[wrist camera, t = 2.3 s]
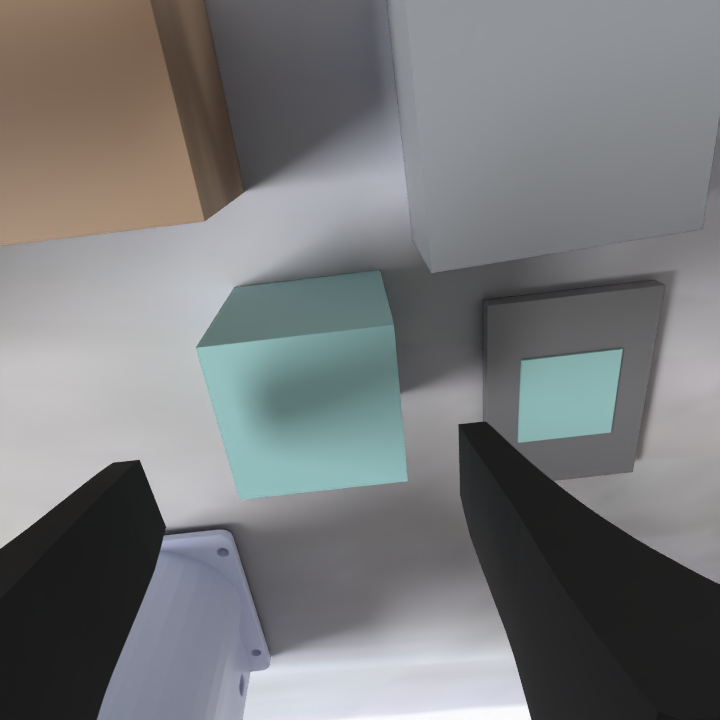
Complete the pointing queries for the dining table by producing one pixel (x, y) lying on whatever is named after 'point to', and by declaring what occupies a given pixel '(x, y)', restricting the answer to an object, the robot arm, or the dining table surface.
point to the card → (571, 374)
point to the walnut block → (110, 118)
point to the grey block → (553, 122)
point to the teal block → (306, 385)
